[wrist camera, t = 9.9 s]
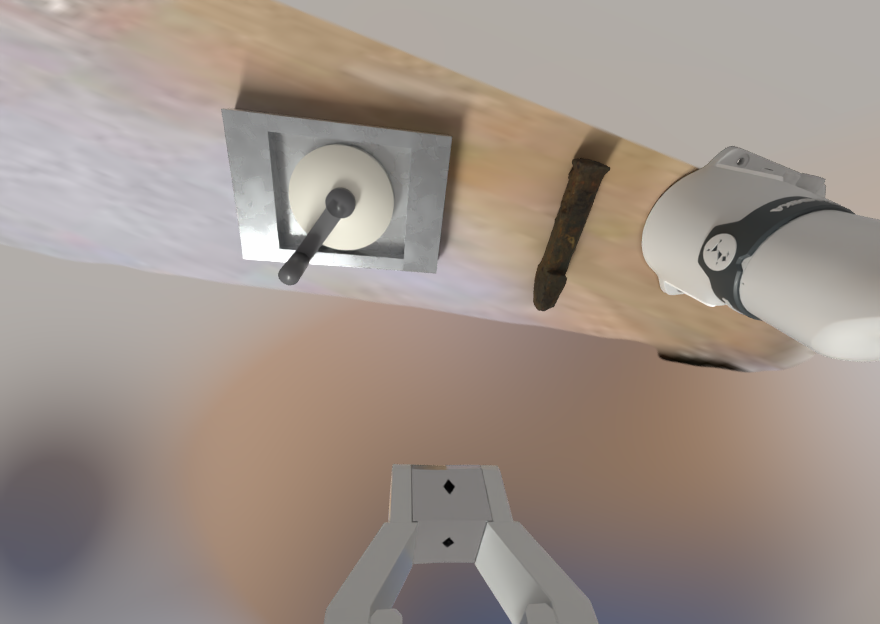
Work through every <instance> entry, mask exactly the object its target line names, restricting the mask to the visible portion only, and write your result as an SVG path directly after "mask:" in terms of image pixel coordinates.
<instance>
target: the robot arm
mask: <svg viewBox="0 0 880 624" xmlns="http://www.w3.org/2000/svg"><path fill="white" fill-rule="evenodd" d="M739 159H740V160H739ZM738 160H739V162H738V163H737V161H738ZM824 182H825V179H824V178H821V177H818V176H814V175H809V174H804V173H802V174H801V173H799V172H796V171H794V170H792V169H789V168H787V167H785V166H782V165H780V164H777V163H775V162H772V161H770V160H768V159H765V158H763V157H761V156H758V155H755V154H753V153H751V152H749V151H746V150H744V149H741V148H738V147H735V146H730V147H727V148H725V149H724V150H723V151H721V152H720V153H719V154H718V155H717V156H715V157H714V158H713V159H712V160H711V161H710V162H709V163H708V164H707V165H706V166H704V167H703V168H701V169H699V170H697V171H695V172H693V173H691V174H689V175H687V176H685V177H684V178H682V179H681V180H679V181H678V182H676V183H675V184H674V185H673V186H671V187H670V188H669V189H668V190H667V191H666V192H665V193H664V194H663V195H662V196H661V198H660V199H659V200H658V201H657V203H656V204H655V206H654V207H653V209H652V210H651V212H650V214H649V216H648V218H647V221H646V223H645V226H644V230H643V235H642V250H643V255H644V258H645V260H646V262H647V264H648V265H649V266H650V268H651V269H652V270H653V271H654V272H655V273H656V274H657V275H658V278H659V283H660V287H661V289H662V291H663V292H665V293H667V294H669V295H677V294H687V295H689V296H691V297H693V298H694V299H696V300H698V301H700V302H702V303H704V304H706V305H708V306H711V307H714V306H716V305H728V306H729V307H730V308H732V309H733V310H735V311H737V312H738V313H741V314H743V315H746V316H748V317H750V318H753V319H756V320H761V321H764V322H766V323H768V324H769V325H771V326H773V327H774V328H776V329H778V330H780V331H781V332H783V333H785V334H786V335H788V336H790V337H791V338H793V339H795V340H796V341H798V342H800V343H801V344H803V345H805V346H806V347H808V348H810V349H811V350H813V351H815V352H816V353H818V354H821V355H823V356H826V357H830V358H834V359H840V360H847V361H857V362H871V361H880V220H878V219H873V218H868V217H864V216H859V215H856V214H855V213H853V212H852V211H851V210H849V209H847V208H845V207H843V206H841V205H839V204H837V203H835V202H833V201H830V200H827V199H826V198H825V193H826V186H825V184H824ZM388 521H389V522H385V523H384V524H383V525H382V527H381V528H380V530H379V531H378V533H377V534H376V536H375V537H374V539H373V540H372V542H371V543H370V545H369V546H368V548H367V549H366V551H365V552H364V554H363V555H362V557H361V558H360V560H359V561H358V563H357V564H356V566H355V567H354V569H353V570H352V572H351V573H350V575H349V576H348V578H347V579H346V581H345V582H344V584H343V585H342V586H341V588H340V589H339V591H338V592H337V594H336V595H335V597H334V598H333V600H332V601H331V603H330V604H329V606H328V607H327V609H326V614H325V620H324V624H402V615H401V614H400V613H399V612H398V611H397V610H396V609H391V608H392V606H393V604H394V602H395V600H396V598H397V596H398V594H399V592H400V590H401V588H402V586H403V584H404V582H405V580H406V578H407V576H408V574H409V572H410V570H411V568H412V564H420V563H440V562H465V563H467V562H468V563H475V565H476V566H477V568H478V570H479V572H480V573H481V575H482V576H483V578H484V579H485V581H486V583H487V584H488V586H489V587H490V589H491V590H492V592H493V593H494V595H495V597H496V598H497V600H498V601H499V603H500V605H501V606H502V608H503V609H504V611H505V612H506V614H507V616H508V617H509V619H510V620H511V622H512V623H513V624H598V621H597V618H596V615H595V613H594V610H593V607H592V604H591V602H590V600H589V599H588V598H587V597H586V596H585V594H584V593H583V592H582V591H581V590H580V589H579V588H578V587H577V586H576V585H575V583H574V582H573V581H572V580H571V579H570V578H569V577H568V576H567V575H566V573H565V572H564V571H563V570H562V569H561V568H560V567H559V566H558V565H557V563H556V562H555V561H554V560H553V559H552V558H551V557H550V556H549V555H548V554H547V552H546V551H545V550H544V549H543V548H542V547H541V546H540V545H539V544H538V543H537V541H536V540H535V539H534V538H533V537H532V536H531V535H530V534H529V533H528V531H527V530H526V529H525V528H524V527H523V526H522V525H521V524H520V523H519V522H517V521H513V518H512V515H511V511H510V507H509V503H508V499H507V495H506V492H505V488H504V484H503V480H502V476H501V473H500V469H499V468H498V466H479V465H445V466H435V465H433V466H432V465H409V464H393V466H392V477H391V489H390V502H389V520H388Z"/></svg>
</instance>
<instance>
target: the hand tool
mask: <svg viewBox="0 0 880 624" xmlns="http://www.w3.org/2000/svg"><path fill="white" fill-rule="evenodd" d="M572 164H573V170H572V171H571V172H570V173H569V177H568V178H569V182H568V185H567V188H566V191H565V193H564V195H563V198H562V201H561V207H560V210H559V213H558V215H557V218H556V219H555V223H554V227H553V230H552V232H551V236H550V239H549V242H548V245H547V248H546V251H545V254H544V256H543V259H542V262H541V263H540V264H539V265H538V268H537V271H536V276H535V283H534V293H533V294H534V298H533V302H534V305H535V307H536V308H537V310H539V311H540V310H541V311H546V310H548V309H549V308H552V307H554V306H555V304H556V302H557V300H558V298H559V295H560V293H561V292H562V290H563V288H564V286H565V284H566V281H567V277H566V276H565V274H566V272H567V269H568V266H569V263H570V260H571V257H572V254H573V253H574V250H575V248H576V245H577V243H578V240H579V238H580V236H581V233H582V231H583V228H584V225H585V223H586V220H587V217H588V215H589V212H590V210H591V207H592V205H593V202H594V199H595V196H596V194H597V191H598V188H599V186H600V183H601V181H602V179H603V177H604V175H605V174H606V173H607V172H608V171H610V167H608V166H606V165H604V164H602V163H600V162H596V161H592V160H589V159H583V158H580V159H574V160H572Z"/></svg>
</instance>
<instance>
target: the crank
mask: <svg viewBox="0 0 880 624" xmlns="http://www.w3.org/2000/svg"><path fill="white" fill-rule="evenodd" d="M289 201H290V206H291V209H292V212H293V214H294V216H295V219H296V220H297V222H298V223H299V225H300V226H301V228H302V229H303V230H304V231H305V232H306V233H307V236H306V237H305V239H304V240H303V241H302V243H301V244H300V246H299V247H298V249H297V250H296V251H295V253H293V254H292V255H291V257H290V258H289V259H288V260H287V262H286V263H285V264H284V266H283V267H282V268H281V269H280V271H279V273H278V276H279V279H280V280H281V282H283V283H284V284H286V285H294V284H296V283H297V282H298V280H299V279H300V277H301V276H302V274H303V273H304V271H305V269H306V268H307V266H308V265H309V262H310V260H311V259H312V258H313V256H314V255H315V254H316V252H317V251H318V249H319V248H320V247H321V245H322V244H323V245H325V246H327V247H330V248H333V249H338V250H355V249H360V248H363V247H366V246H368V245H370V244H372V243H373V242H375V241H376V240H377V239H378V238H380V237H381V235H382V234H383V233H384V232H385V230H386V229H387V227H388V225H389V223H390V221H391V218H392V214H393V208H394V192H393V187H392V184H391V181H390V178H389V176H388V174H387V172H386V171H385V169H384V168H383V166H382V165H381V164H380V163H379V162H378V161H377V160H376V159H375V158H374V157H373V156H372V155H370V154H369V153H368V152H366V151H364V150H362V149H360V148H358V147H355V146H352V145H348V144H330V145H325V146H322V147H320V148H317V149H315V150H313V151H311V152H310V153H308V154H307V155H305V156H304V157H303V158H302V159H301V160H300V161H299V163H298V164H297V165H296V167H295V169H294V171H293V173H292V175H291V178H290V183H289Z"/></svg>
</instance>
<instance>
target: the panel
mask: <svg viewBox="0 0 880 624" xmlns="http://www.w3.org/2000/svg"><path fill="white" fill-rule="evenodd" d="M221 110H222V117H223V124H224V130H225V137H226V144H227V151H228V157H229V164H230V171H231V177H232V184H233V191H234V197H235V204H236V211H237V217H238V224H239V231H240V238H241V244H242V251H243V258H244V259H252V260H265V261H278V262H287V260H288V259H289V258H290V257H291V255H292V254H293V253H295V251H296V250H297V249H298V247H299V246H300V244H301V243H302V241H303V240H304V239H305V237H306V236H307V233H306V232H305V231H304V230H303V229H302V228H301V226H300V225H299V223H298V222H297V220H296V219H295V216H294V214H293V212H292V209H291V206H290V201H289V183H290V178H291V175H292V173H293V171H294V169H295V167H296V165H297V164H298V163H299V161H300V160H301V159H302V158H303V157H304V156H305V155H307V154H308V153H310V152H311V151H313V150H315V149H317V148H320V147H322V146H325V145H330V144H348V145H352V146H355V147H358V148H360V149H362V150H364V151H366V152H368V153H369V154H370V155H372V156H373V157H374V158H375V159H376V160H377V161H378V162H379V163H380V164H381V165H382V166H383V168H384V169H385V171H386V172H387V174H388V176H389V178H390V181H391V184H392V187H393V192H394V208H393V214H392V218H391V221H390V223H389V225H388V227H387V229H386V230H385V232H384V233H383V234H382V235H381V237H380V238H378V239H377V240H376V241H375V242H373V243H372V244H370V245H368V246H366V247H363V248H360V249H355V250H338V249H333V248H330V247H327V246H325V245H323V244H322V245H321V247H320V248H319V249H318V251H317V252H316V254H315V255H314V256H313V258H312V259H311V260H310V262H309V264H318V265H331V266H344V267H358V268H371V269H384V270H397V271H410V272H424V273H436V270H437V261H438V253H439V244H440V236H441V227H442V219H443V210H444V202H445V193H446V185H447V176H448V168H449V159H450V151H451V142H452V136H450V135H445V134H437V133H429V132H421V131H413V130H405V129H396V128H388V127H380V126H372V125H364V124H356V123H348V122H339V121H331V120H323V119H315V118H307V117H299V116H291V115H282V114H274V113H266V112H258V111H250V110H242V109H221Z"/></svg>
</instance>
